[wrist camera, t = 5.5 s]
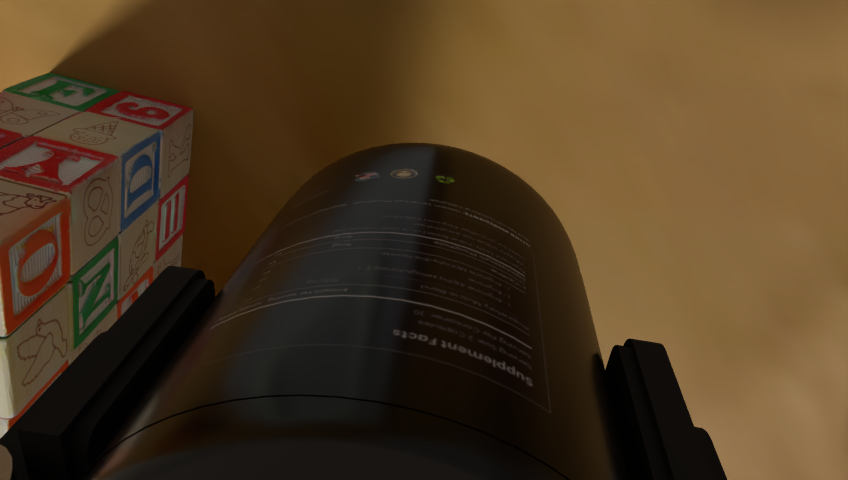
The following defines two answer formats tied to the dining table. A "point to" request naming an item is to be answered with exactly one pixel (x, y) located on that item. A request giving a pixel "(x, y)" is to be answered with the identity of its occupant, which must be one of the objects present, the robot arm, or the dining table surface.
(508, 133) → the dining table surface
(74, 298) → the stack of blocks
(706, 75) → the dining table surface
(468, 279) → the supplement bottle
